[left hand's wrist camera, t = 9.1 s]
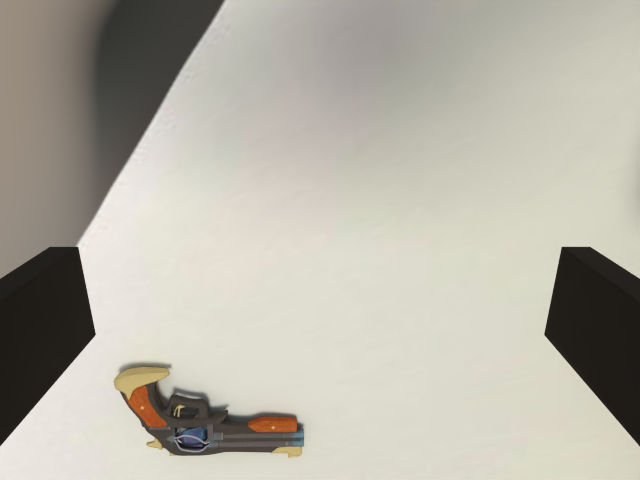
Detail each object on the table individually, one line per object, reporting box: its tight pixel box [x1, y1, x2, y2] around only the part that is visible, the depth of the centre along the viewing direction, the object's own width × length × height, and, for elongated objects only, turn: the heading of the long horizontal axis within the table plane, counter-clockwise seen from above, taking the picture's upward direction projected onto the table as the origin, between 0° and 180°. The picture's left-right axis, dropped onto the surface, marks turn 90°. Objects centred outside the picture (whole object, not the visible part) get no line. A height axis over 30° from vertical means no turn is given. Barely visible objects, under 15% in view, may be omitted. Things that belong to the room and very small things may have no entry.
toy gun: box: [114, 367, 304, 458], centre depth 46 cm, size 3×19×10 cm
